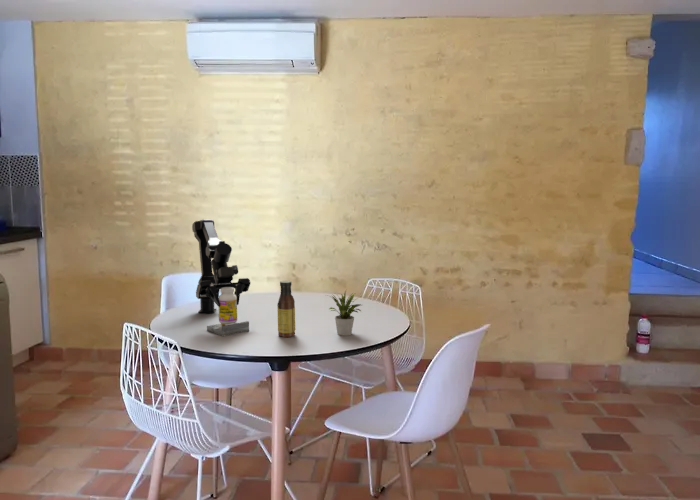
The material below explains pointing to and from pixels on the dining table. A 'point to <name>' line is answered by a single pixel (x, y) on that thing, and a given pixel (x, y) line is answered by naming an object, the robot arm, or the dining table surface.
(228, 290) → the supplement bottle
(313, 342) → the dining table surface
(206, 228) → the robot arm
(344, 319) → the house plant
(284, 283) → the sauce bottle
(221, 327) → the coupler plate
